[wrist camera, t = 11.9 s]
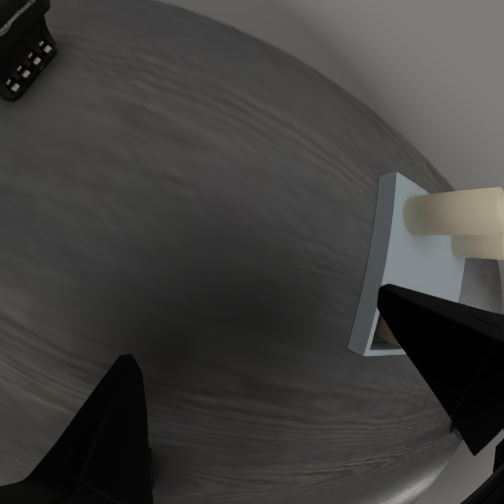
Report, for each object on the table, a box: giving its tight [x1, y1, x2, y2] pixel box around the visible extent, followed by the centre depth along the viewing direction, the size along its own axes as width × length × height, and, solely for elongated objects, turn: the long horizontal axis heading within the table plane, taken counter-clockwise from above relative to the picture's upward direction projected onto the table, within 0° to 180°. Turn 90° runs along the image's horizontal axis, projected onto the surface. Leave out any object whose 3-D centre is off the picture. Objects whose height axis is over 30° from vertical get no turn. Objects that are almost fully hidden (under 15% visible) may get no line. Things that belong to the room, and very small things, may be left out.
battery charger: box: [0, 0, 57, 100], centre depth 8 cm, size 7×4×11 cm, turn 152°
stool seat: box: [347, 172, 504, 356], centre depth 23 cm, size 18×18×13 cm
